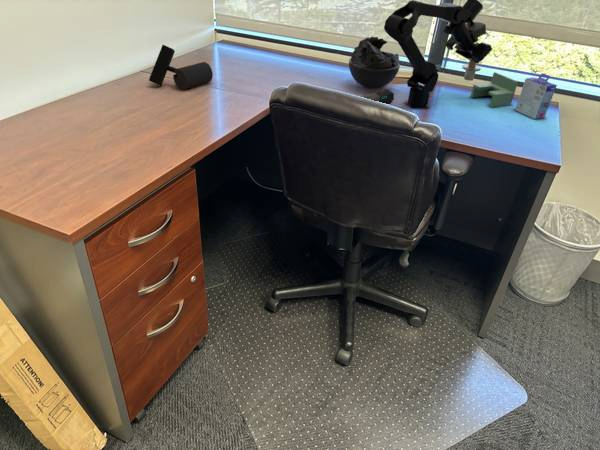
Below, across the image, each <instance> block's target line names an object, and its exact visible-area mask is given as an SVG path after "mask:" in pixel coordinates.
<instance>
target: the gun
mask: <svg viewBox="0 0 600 450" xmlns="http://www.w3.org/2000/svg"><path fill="white" fill-rule="evenodd" d="M362 97H364V98H367V99H371V100H374V101H379V102H382V103H386V104H390V105H392V103H393V101H394V100H395V93H394V92H393V91H392V90H390V89H388V88H385V89H382V90H379V91H375V92H373V93H370V94H367V95H362Z"/></svg>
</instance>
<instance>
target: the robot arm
mask: <svg viewBox="0 0 600 450" xmlns="http://www.w3.org/2000/svg"><path fill="white" fill-rule="evenodd" d="M483 9H484V5H483V3H482V2H480V1H479V0H466V2H465V3H464V4H463V5H462V6H461V5H458V4H454V3H450V2H443V3H440V4H435V3H428V2H422V1H420V0H410V1H409V0H408V2H406V4H405V5H403V6H401V7H400V8H398V9H396V10H395V11H393V12H392V13H391V14H390V15H389V16H388V17H387V18H386V19H385V22H384V26H383V30H384V32H385V33H386V34H387V35H388V36H390V38H391V39H393V40H394V41H395V42H397V43H398V46H400V48H401V50H402V52H403V54H404V56H406V58H407V60H408V62H409V63H410V65H411V67H412V74H411V76H410V78H408V80H407V81H406V87H408V88H409V92H408V99H407V100H405V103H406V104H407V105H408V106H409V107H410V108H412V109H428V108H429V106H428V103H429V98H430V93H432V92H434V89H435V87H436V85H437V82H438V81H439V69H437V66H436V64H435V63H434V62H431V61H428V60H426V59H425V57H424V55H423V54H422V52H421V50H420V48H419V47H418V44H417V43H416V40H415V39H414V37H413V33H414V28H415V27H416V26H417V24H418V20H419V18H420V17H421V16H422V17H423V16H424V17H430V18H431V17H432V18H436V19H438V20H441V21H443V22H447V23H448V24H445V26H444V29H443V34H448V35H451V36H450V37H449V39H448V40H447V41H446V42H445V47H446V49H447V50H449V51H453V50H454V49H455V51H454V52H455V53H456V54H458V55H459V56H461V57H463V58H465V59H467V60H468V61H469V60H470V59H471V60H472V61H474V62H475V63H476V65H478V64H479V63H480V62H482V61H483V60H484V59H485V58H486V57H487V56H488V55H489V54H490V53H491V51H493V48H492V47H493V46H492V44H490V43H486V42H478V41H479V38H480V37H481V36H483V35H486V34H487V27H486V26H487V25H486V23H483V22H480V21H474V20H475V19H476V17H477V16H478V15H479V14H480V13H481V12H482V10H483ZM410 15H411V16H410ZM409 16H410V17H409ZM406 17H409V18H406Z"/></svg>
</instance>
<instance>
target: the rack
mask: <svg viewBox="0 0 600 450" xmlns="http://www.w3.org/2000/svg"><path fill="white" fill-rule="evenodd" d="M518 83H519V81H518V80H515V79H513V78H510V77H507V76H505V75H503V74H501V73H498V72H496V71H494V72H493V74H492V78H491V81H490V82H482V83H474V84H473V85H472V89H471V92H470V98H472V99H474V98H482V97H488V96H490V97H491V100H490V103H489V107H490V108H497V107H504V106H505V107H506V106H510V105H512V103H513V99H514V96H515V93H516V90H517V87H518Z"/></svg>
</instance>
